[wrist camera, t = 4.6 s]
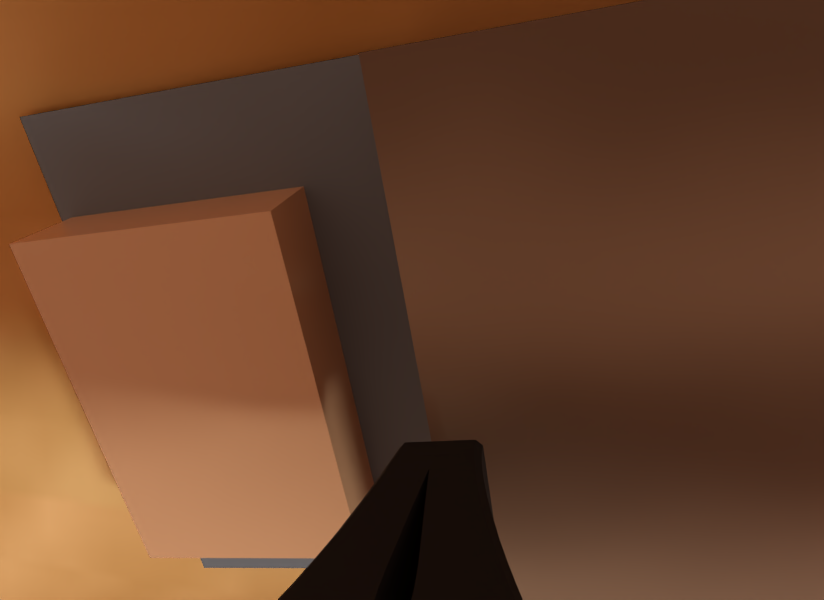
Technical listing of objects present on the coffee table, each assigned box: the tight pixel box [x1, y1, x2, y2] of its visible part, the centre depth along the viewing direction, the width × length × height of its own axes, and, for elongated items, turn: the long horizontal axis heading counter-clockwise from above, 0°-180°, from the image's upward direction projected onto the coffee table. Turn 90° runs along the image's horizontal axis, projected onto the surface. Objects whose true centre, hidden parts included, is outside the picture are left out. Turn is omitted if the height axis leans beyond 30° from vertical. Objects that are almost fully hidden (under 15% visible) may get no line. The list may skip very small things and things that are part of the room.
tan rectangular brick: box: [9, 186, 374, 558], centre depth 15 cm, size 9×6×2 cm, turn 9°
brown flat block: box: [359, 0, 824, 600], centre depth 12 cm, size 14×11×4 cm
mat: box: [20, 55, 431, 568], centre depth 15 cm, size 14×9×1 cm, turn 10°
